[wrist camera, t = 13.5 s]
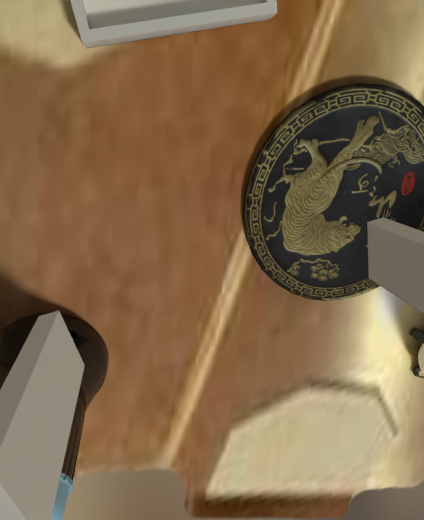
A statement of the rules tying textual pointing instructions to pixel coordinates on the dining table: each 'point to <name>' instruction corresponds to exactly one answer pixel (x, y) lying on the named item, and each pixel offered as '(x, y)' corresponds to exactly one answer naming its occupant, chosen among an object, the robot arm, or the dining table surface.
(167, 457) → the dining table surface
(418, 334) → the coffee press
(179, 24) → the tray
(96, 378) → the robot arm
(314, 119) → the decorative plate
